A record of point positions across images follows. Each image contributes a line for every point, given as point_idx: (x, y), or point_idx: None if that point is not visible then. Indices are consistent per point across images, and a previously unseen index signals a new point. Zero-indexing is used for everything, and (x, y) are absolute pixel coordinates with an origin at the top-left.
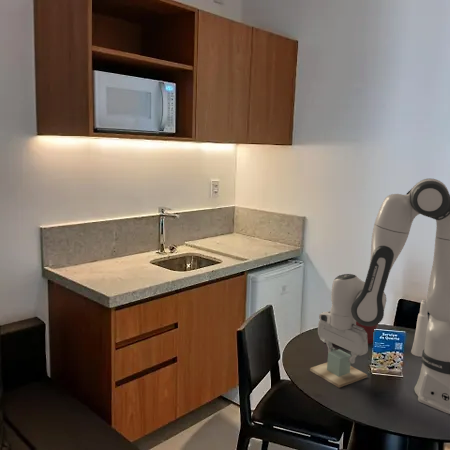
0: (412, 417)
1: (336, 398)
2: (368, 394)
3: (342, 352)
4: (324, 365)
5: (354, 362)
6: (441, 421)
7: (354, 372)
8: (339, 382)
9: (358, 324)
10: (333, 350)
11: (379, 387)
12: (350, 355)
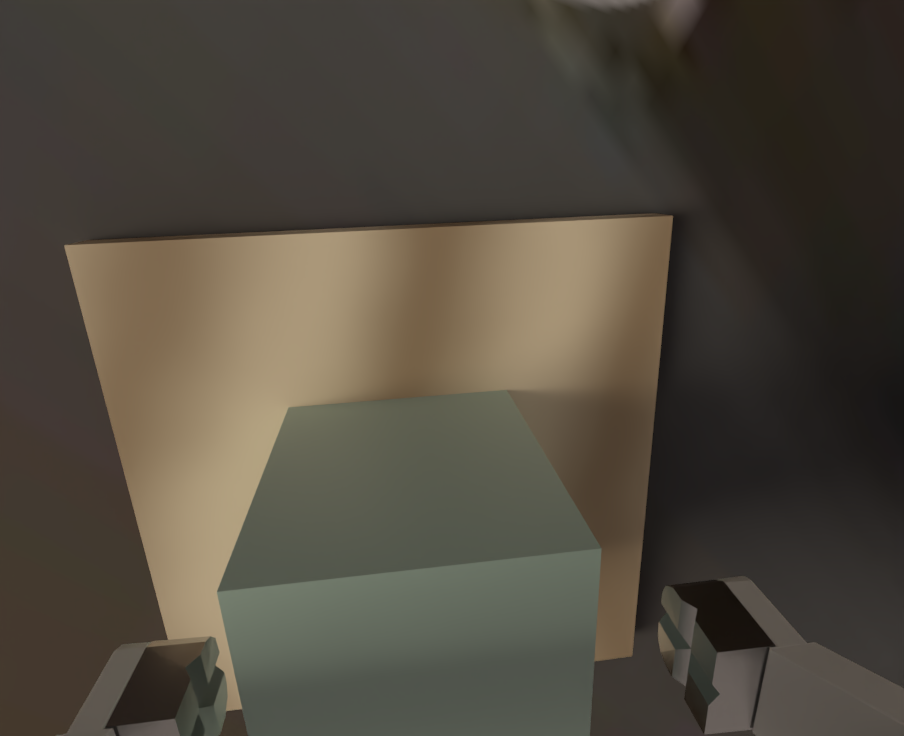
0: None
1: (714, 733)
2: (861, 476)
3: (401, 627)
4: (196, 546)
5: (741, 578)
6: None
7: (536, 331)
8: (600, 628)
9: None
10: (188, 682)
11: (877, 270)
12: (598, 565)
